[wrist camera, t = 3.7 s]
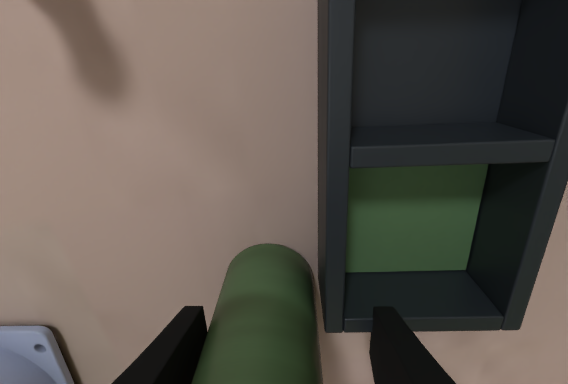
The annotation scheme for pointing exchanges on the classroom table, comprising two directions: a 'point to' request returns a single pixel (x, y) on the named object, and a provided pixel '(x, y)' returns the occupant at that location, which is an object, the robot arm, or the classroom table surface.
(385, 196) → the tray
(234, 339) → the sage peg
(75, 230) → the classroom table surface
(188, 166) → the classroom table surface
